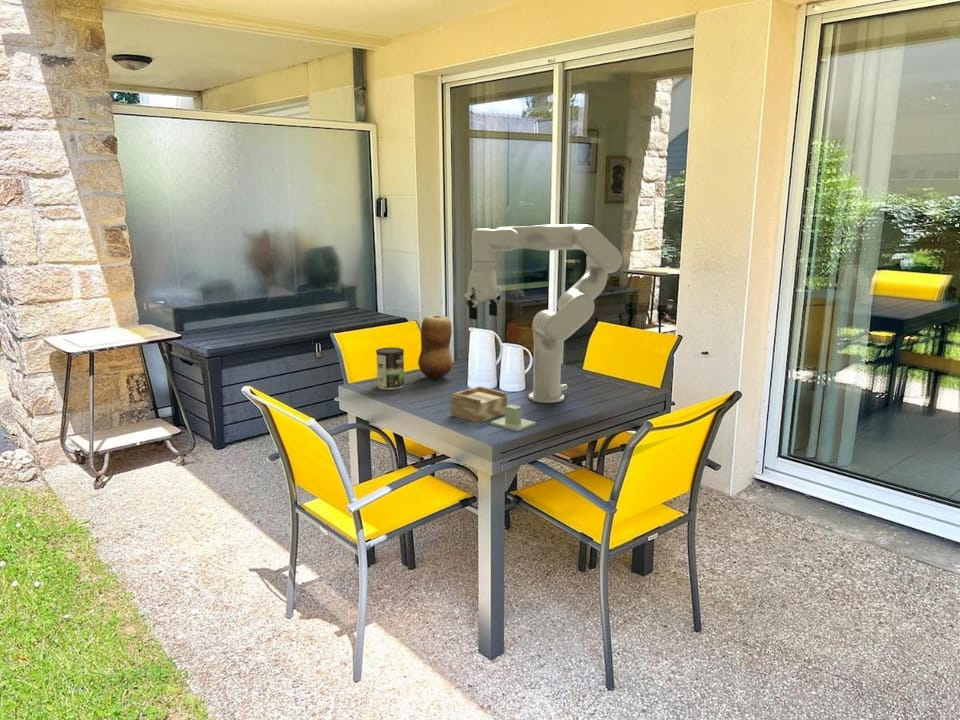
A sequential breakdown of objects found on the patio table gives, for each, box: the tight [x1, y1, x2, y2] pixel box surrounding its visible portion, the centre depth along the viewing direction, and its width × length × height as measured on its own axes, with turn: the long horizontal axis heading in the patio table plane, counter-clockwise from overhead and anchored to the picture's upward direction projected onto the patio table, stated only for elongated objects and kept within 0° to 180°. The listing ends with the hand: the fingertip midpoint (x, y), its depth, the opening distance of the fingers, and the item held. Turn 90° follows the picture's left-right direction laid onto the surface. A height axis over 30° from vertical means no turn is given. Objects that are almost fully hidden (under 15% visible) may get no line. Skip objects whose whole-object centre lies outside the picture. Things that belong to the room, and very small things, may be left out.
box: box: [450, 385, 508, 424], centre depth 232 cm, size 14×12×7 cm
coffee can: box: [375, 346, 405, 391], centre depth 266 cm, size 10×10×14 cm
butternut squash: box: [417, 314, 453, 380], centre depth 277 cm, size 14×13×25 cm
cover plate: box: [490, 404, 537, 432], centre depth 222 cm, size 9×11×6 cm
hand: (483, 317), depth 238 cm, fingers open, 9 cm apart
